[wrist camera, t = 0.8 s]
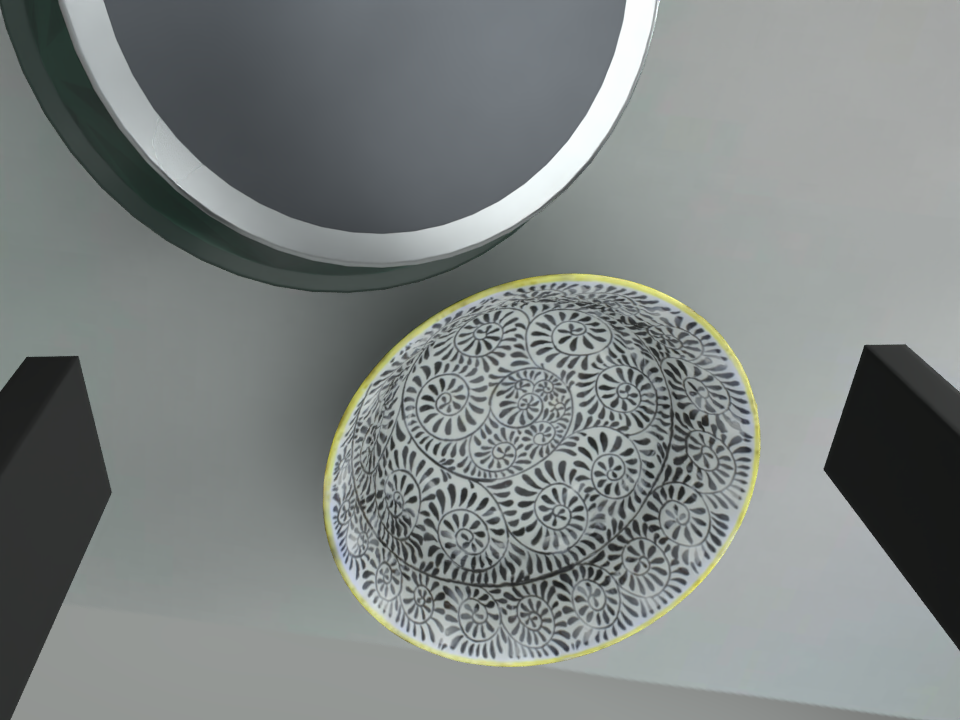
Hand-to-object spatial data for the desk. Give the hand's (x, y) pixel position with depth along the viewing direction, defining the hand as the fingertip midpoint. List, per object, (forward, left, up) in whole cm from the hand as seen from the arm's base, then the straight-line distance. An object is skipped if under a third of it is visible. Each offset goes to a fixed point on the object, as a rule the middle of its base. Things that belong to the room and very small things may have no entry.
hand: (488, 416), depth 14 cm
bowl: (+5, +9, -19) cm, 21 cm away
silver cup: (-5, -5, -8) cm, 10 cm away
